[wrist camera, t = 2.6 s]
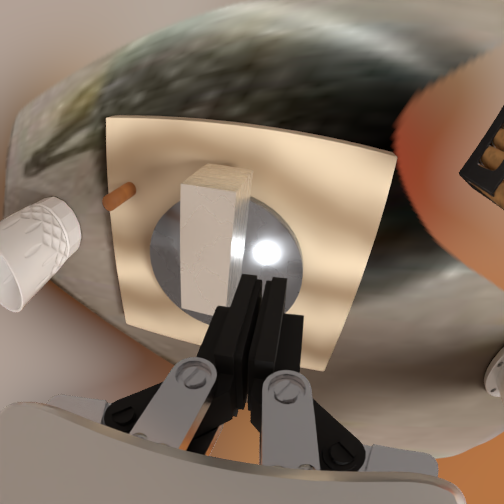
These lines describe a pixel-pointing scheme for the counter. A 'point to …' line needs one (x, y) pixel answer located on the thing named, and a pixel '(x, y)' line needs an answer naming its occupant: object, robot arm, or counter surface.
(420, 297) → the counter surface
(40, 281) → the white cup
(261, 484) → the robot arm
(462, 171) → the ammunition clip
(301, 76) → the counter surface
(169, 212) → the dial
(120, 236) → the dial panel
